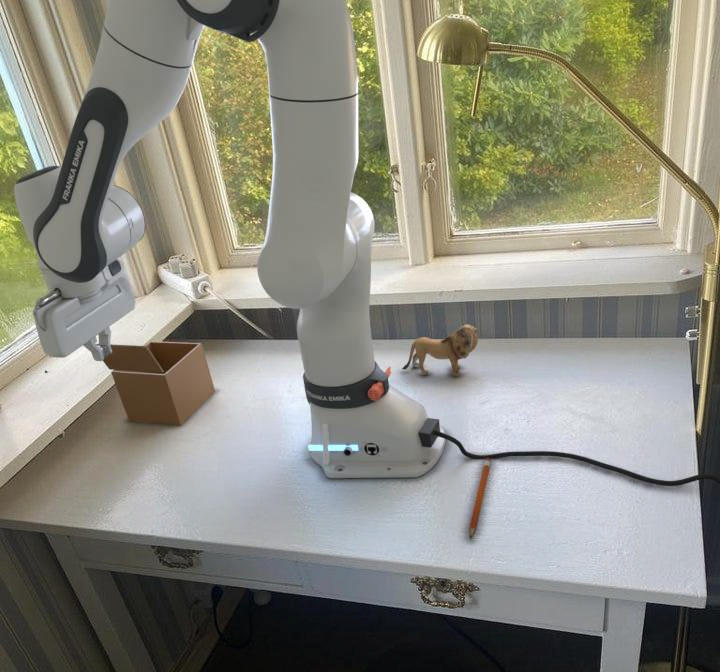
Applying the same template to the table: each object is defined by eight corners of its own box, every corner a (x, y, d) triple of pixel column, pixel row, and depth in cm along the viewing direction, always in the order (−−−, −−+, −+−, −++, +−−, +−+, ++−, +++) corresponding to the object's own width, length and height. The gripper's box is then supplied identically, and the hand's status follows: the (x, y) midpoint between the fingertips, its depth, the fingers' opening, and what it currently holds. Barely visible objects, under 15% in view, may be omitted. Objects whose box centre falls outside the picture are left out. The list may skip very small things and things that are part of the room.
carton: (215, 391, 144) (201, 343, 138) (180, 425, 135) (164, 375, 129) (165, 387, 148) (150, 341, 142) (128, 420, 139) (110, 371, 133)
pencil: (491, 462, 112) (490, 457, 112) (473, 541, 98) (473, 536, 97) (485, 462, 113) (485, 457, 112) (467, 541, 98) (466, 536, 98)
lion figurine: (479, 363, 139) (478, 319, 134) (478, 376, 135) (476, 331, 130) (404, 365, 142) (399, 322, 137) (400, 378, 138) (395, 335, 133)
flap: (147, 345, 123) (146, 347, 123) (163, 371, 128) (163, 372, 128) (91, 343, 127) (90, 345, 127) (110, 367, 132) (109, 369, 132)
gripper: (46, 304, 106) (79, 388, 114) (128, 255, 121) (152, 332, 129) (13, 303, 108) (48, 385, 116) (98, 255, 123) (123, 331, 131)
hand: (103, 357), depth 122 cm, fingers closed
